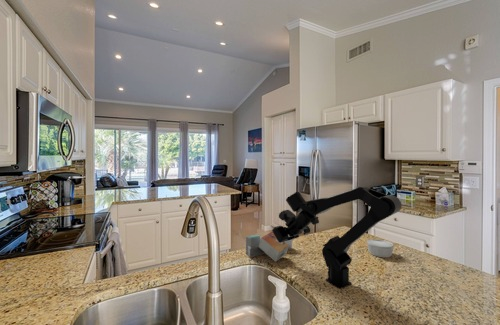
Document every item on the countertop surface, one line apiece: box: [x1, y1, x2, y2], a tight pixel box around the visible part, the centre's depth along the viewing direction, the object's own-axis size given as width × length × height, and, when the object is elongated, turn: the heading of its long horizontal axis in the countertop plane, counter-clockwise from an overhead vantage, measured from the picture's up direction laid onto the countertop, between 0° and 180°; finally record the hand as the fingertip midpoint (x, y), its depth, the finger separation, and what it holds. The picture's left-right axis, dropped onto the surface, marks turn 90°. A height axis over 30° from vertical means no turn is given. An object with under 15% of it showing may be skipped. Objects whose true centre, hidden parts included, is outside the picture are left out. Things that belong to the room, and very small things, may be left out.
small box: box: [259, 231, 289, 263], centre depth 106 cm, size 8×6×10 cm
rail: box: [247, 239, 294, 258], centre depth 113 cm, size 3×24×5 cm, turn 119°
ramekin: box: [366, 238, 395, 258], centre depth 112 cm, size 11×11×5 cm
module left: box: [245, 234, 262, 255], centre depth 110 cm, size 5×5×9 cm
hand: (281, 240), depth 105 cm, fingers closed
